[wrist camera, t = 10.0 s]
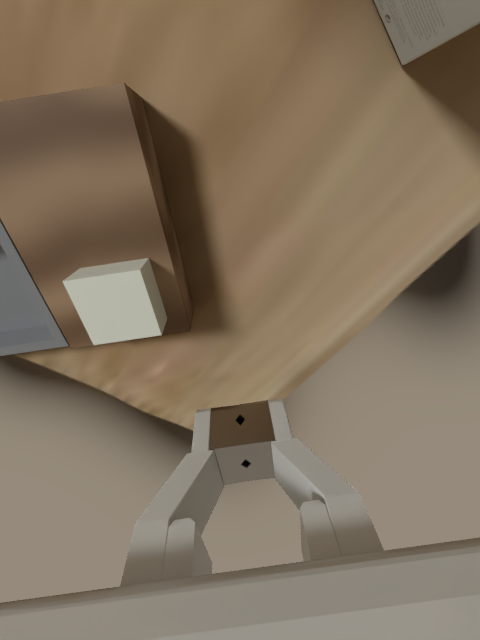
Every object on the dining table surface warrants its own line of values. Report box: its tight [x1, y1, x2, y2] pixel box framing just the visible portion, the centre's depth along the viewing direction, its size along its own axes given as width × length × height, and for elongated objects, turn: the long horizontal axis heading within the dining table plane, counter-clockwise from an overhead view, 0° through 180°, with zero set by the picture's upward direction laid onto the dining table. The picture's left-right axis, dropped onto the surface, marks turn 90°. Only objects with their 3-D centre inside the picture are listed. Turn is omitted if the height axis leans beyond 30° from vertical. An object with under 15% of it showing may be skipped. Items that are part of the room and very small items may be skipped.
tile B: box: [62, 258, 167, 345], centre depth 20 cm, size 5×5×2 cm
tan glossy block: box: [0, 83, 194, 349], centre depth 21 cm, size 16×10×4 cm, turn 7°
